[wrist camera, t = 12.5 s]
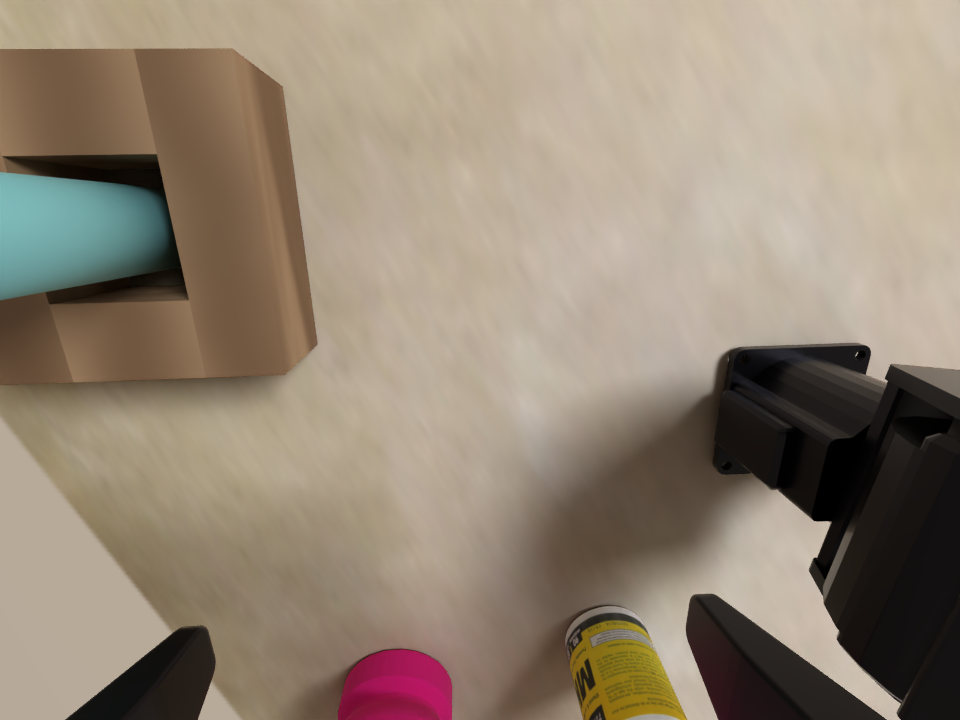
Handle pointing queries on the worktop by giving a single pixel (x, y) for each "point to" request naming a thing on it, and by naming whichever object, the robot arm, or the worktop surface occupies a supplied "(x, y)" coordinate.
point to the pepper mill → (397, 688)
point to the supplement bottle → (618, 668)
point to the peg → (79, 233)
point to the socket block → (193, 209)
